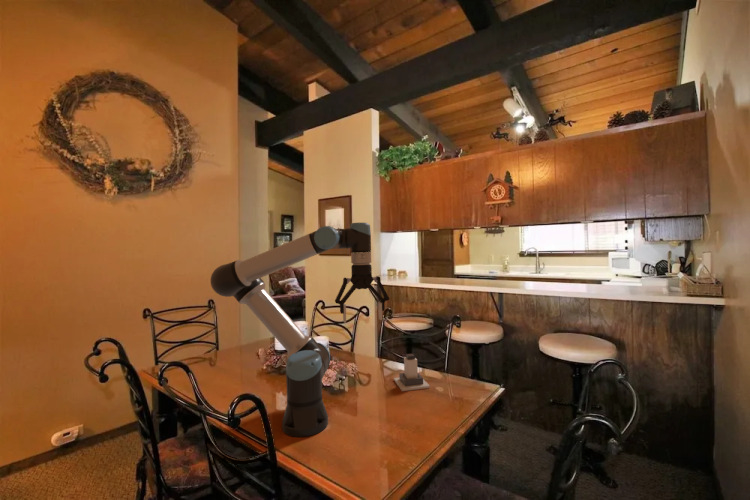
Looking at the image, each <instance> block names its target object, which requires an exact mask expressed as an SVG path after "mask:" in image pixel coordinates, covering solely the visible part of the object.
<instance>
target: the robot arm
mask: <svg viewBox="0 0 750 500" xmlns="http://www.w3.org/2000/svg"><path fill="white" fill-rule="evenodd" d="M371 232H372V231H371V224H369V223H368V222H351V223H350V226H349V227H348V228H336V227H333V226H329V225H324V226H320V227H318V228H317V230H315V231H312V232H310V233H307V234H305V235H302V236H300V237H297V238H295V239H294V240H291V241H287V242H286V243H283V244H281V245H278V246H276V247H273V248H271V249H269V250H266V251H264V252H262V253H259V254H257V255H253V256H252V257H248V258H247V259H245V260H240V259H237V260H234V261H232V262H229V263H225V264H222V265H220V266H218V267H216V268H215V269H213V271H212V273H211V276H210V286H211V288H212V290H213V291H214V292H215V293H216V294H217V295H219V296H221V297H227V298H228V297H229V298H230V297H234V299H236V301H237V302H238V303H239V304H243V305H246V306H247V307H248V308H249V309H250V310H251V312H252V313H253V314H254V315H255V316H256V317H257V319H259V321H260V322H261V323H262V325H264V327H265V328H266V329H267V330H268V331H269V332H270V333H271V334H272V336H274V338H275V339H276V340H277V341H278V342H279V343H280V344H281V345H282V347H283V348H284V349H285V350H286V351H287V359H286V362H285V375H286V376H285V377H286V378H285V379H286V380H285V381H286V407H285V411H284V413H283V417H282V419H281V430H282V432H283V433H284V434H286V435H287V436H291V437H295V438H303V437H310V436H314V435H317V434H319V433H320V432H323V431H324V430H325V429H326V428H327V427H328V424H329V416H328V415H329V414H328V412H327V409H326V406H325V404H324V401H323V379H324V376H325V374H326V372H327V371H328V369H329V367H330V364H331V363H330V362H331V354H330V350H329V349H328V347H327V346H325V345H324V344H323V343H321V342H317V341H316V340H315V339H314V338H313V336H312V335H310V336H309V335H305V333H304V332H303V331H302V330H301V329H300V328H299V326H298V325H297V324H296V323H295V322H294V320H293V319H292V318H291V317H290V316H289V315H288V314H287V313H286V312H285V311H284V309H283V308H282V307H281V305H279V303H278V302H277V301H276V300H275V298H273V297H272V295H271V294H270V293H269V292H268V291H267V290H266V283H265V281H264V280H263V279H262V278H263V277H266V276H268V275H272V274H273V273H275V272H278V271H280V270H283V269H285V268H288V267H291V266H292V265H294V264H295V265H296V264H297V263H300V262H302V261H305V260H307V259H309V258H313V257H314V256H317V255H319V254H322V253H324V252H326V251H329V250H338V249H339V250H340V249H341V250H342V249H346V250H347V249H350V252H351V254H350V255H351V257H350V260H351V261H350V263H351V264H352V265H351V277H350V278H349V277H343V280H342V283H341V284H342V285H341V286H340V288H339V290H338V293H337V295H336V297H335V300H334V303H335V304H338V305H339V313H340V314H342V318H343V320H342V321H343V323H345V324H346V323H347V304H345V303H346V302H347V301H348V299H349V298H350V297H351V295H352V294H353V293H354V292H355V291H356V290H367V289H369V290H370V291H371V293H373V294H374V295H375V296H376V297H377V299H378V300H379V301H378V302H377V303H378V305H377V306H378V311H377V312H378V320H379V321H383V312H385V303H386V302H387V301H389V300H390V297H389V295H388V293H387V291H386V290H385V288H384V285H383V284H382V281H381V276H379V275H376V276H373V275H372V274H373V272H372V271H373V270H372V269H373V268H372V264H371V263H372V238H371V237H372V233H371ZM373 281H374V283H376V286H378V289H379V291H380V293H381V294H382V295H381V294H380V293H379V292H378V291H377V290H376V288H374V286H373V285H372V283H373ZM350 282H351V284H352V285H351V286H350V288H349V289H348V290H347V292H346V293H345V295H344V296H343V294H344V291H345V290H346V288H347V285H348V284H349V283H350Z"/></svg>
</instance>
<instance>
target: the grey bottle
mask: <svg viewBox="0 0 750 500" xmlns="http://www.w3.org/2000/svg"><path fill="white" fill-rule="evenodd" d="M403 367H404V368H403V371H404V372H403V373H404V377H405V378H406V379H413V378H418V373H419V372H418V371H419V370H418V359H417V358H416V355H414V353H405V356H403Z"/></svg>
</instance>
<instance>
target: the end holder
mask: <svg viewBox="0 0 750 500" xmlns="http://www.w3.org/2000/svg"><path fill="white" fill-rule="evenodd" d="M393 381H394V383H395V384H396V385H397V386H398V389H400V391H401V392H407V391H408V392H409V391H415V390H423V389H424V390H425V389H430V388H431V387H430V384H429V383H428V382H427V381H426V380H425V378H424V377H423V376H422V375H421V374H420V373H419V372H418V378H413V379H406V378H405V377H404V372H402V373H400V372H399V377H393Z"/></svg>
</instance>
